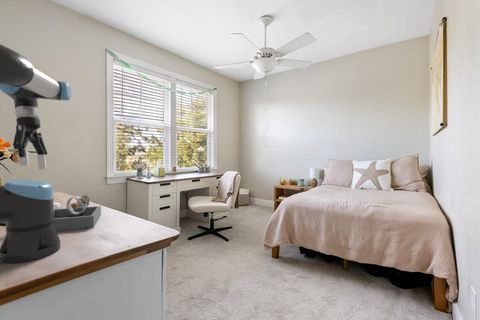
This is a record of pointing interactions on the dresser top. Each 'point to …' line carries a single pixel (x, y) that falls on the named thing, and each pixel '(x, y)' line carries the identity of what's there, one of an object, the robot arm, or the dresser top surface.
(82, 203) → the watch
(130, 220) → the dresser top surface
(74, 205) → the lion figurine
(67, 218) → the tray
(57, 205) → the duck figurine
